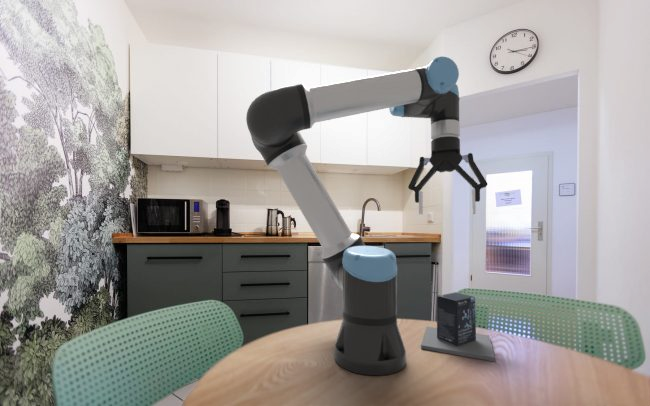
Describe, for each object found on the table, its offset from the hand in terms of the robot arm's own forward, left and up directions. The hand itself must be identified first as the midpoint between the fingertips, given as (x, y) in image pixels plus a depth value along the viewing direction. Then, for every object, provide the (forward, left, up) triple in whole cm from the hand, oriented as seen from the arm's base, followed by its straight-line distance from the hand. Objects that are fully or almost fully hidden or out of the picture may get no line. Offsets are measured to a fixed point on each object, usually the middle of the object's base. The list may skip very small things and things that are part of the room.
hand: (446, 214), depth 83 cm
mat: (+2, -8, -32) cm, 33 cm away
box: (+2, -8, -31) cm, 32 cm away
